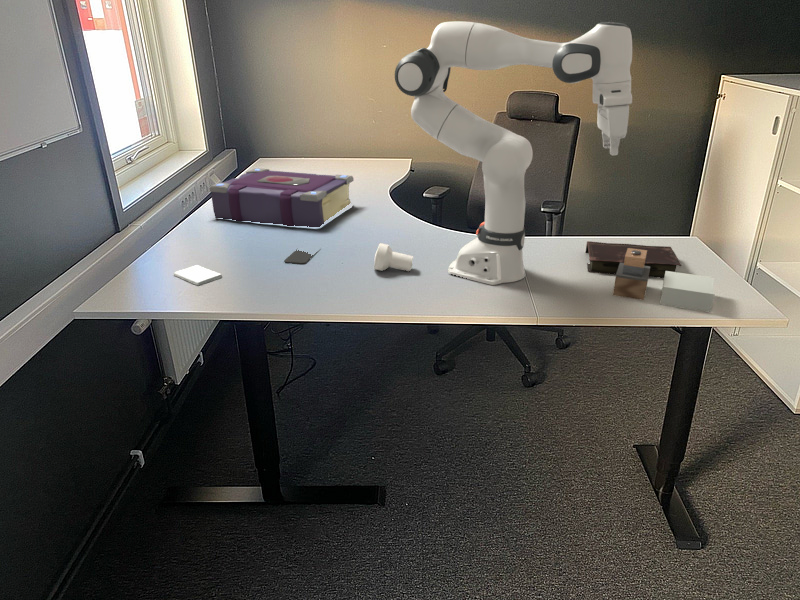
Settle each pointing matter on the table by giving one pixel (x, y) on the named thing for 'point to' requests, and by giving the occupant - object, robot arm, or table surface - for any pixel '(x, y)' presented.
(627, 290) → the walnut stand
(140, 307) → the table surface
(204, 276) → the external hard drive
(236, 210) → the book
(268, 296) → the table surface
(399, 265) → the spotlight
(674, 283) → the grey stand
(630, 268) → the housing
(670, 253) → the diary
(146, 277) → the table surface
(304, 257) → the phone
